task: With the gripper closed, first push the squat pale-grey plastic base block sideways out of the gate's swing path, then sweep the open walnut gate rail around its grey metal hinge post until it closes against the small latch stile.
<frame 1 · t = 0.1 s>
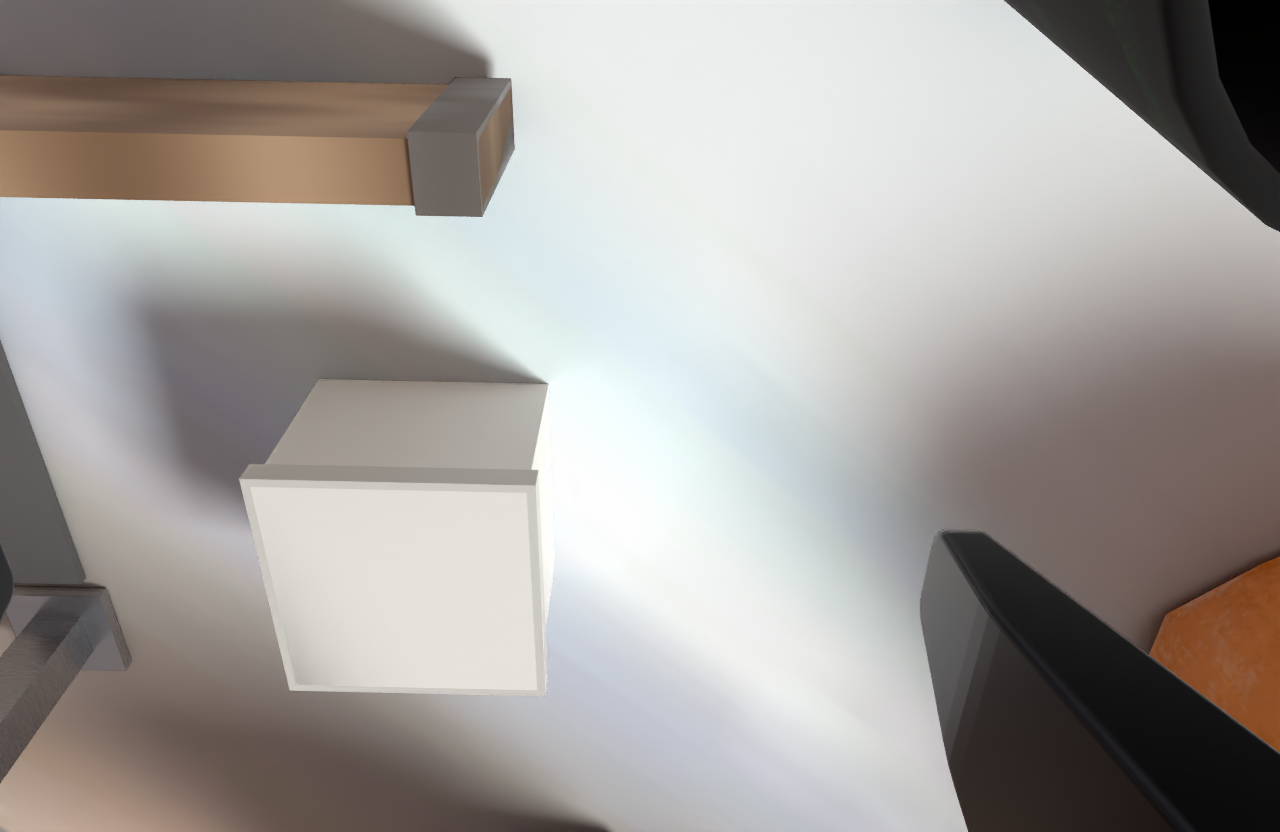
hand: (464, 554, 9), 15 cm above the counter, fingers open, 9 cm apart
latch stile: (70, 624, 29), on the counter
gate: (167, 134, 19), point 3 cm above the counter, hinge at 90.0°
base block: (444, 474, 26), on the counter
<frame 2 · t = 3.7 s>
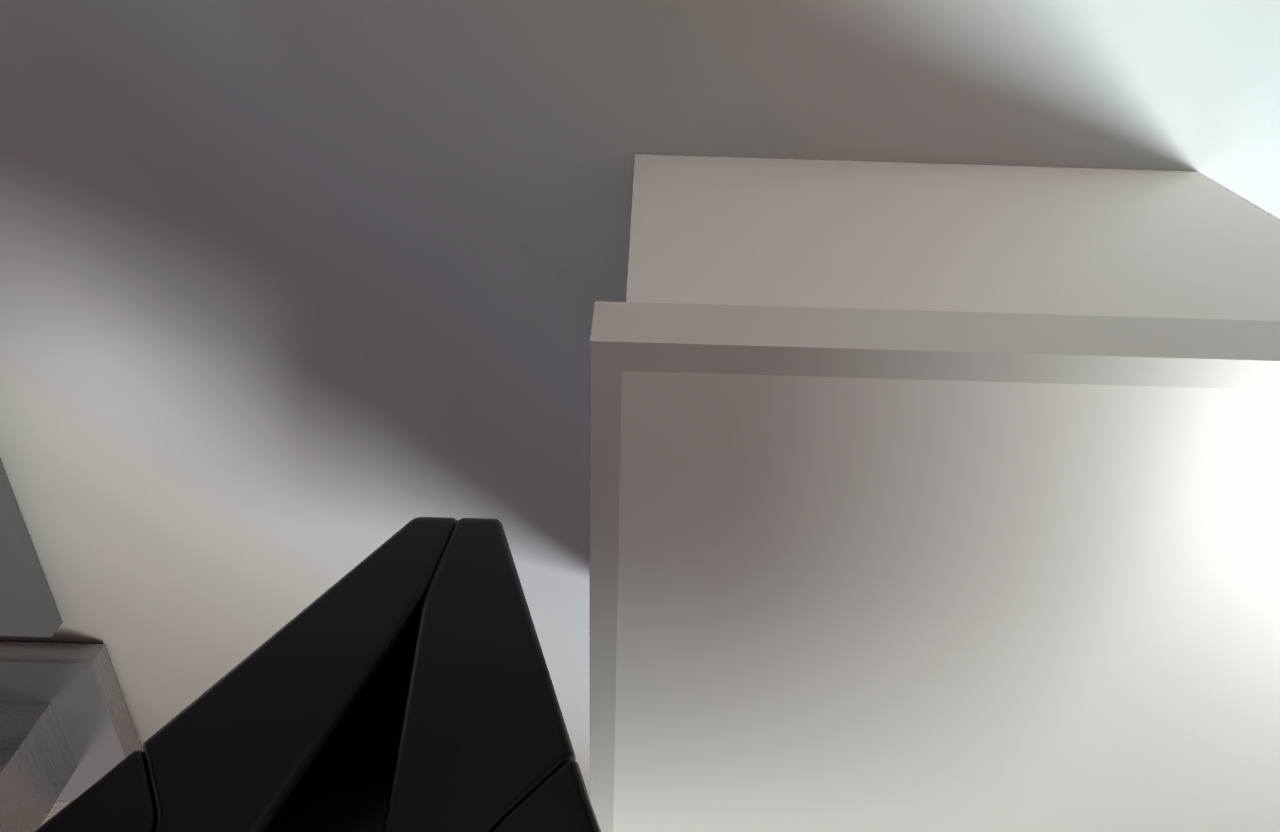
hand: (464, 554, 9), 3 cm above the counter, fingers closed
latch stile: (32, 713, 15), on the counter
base block: (872, 403, 12), on the counter, touching gripper
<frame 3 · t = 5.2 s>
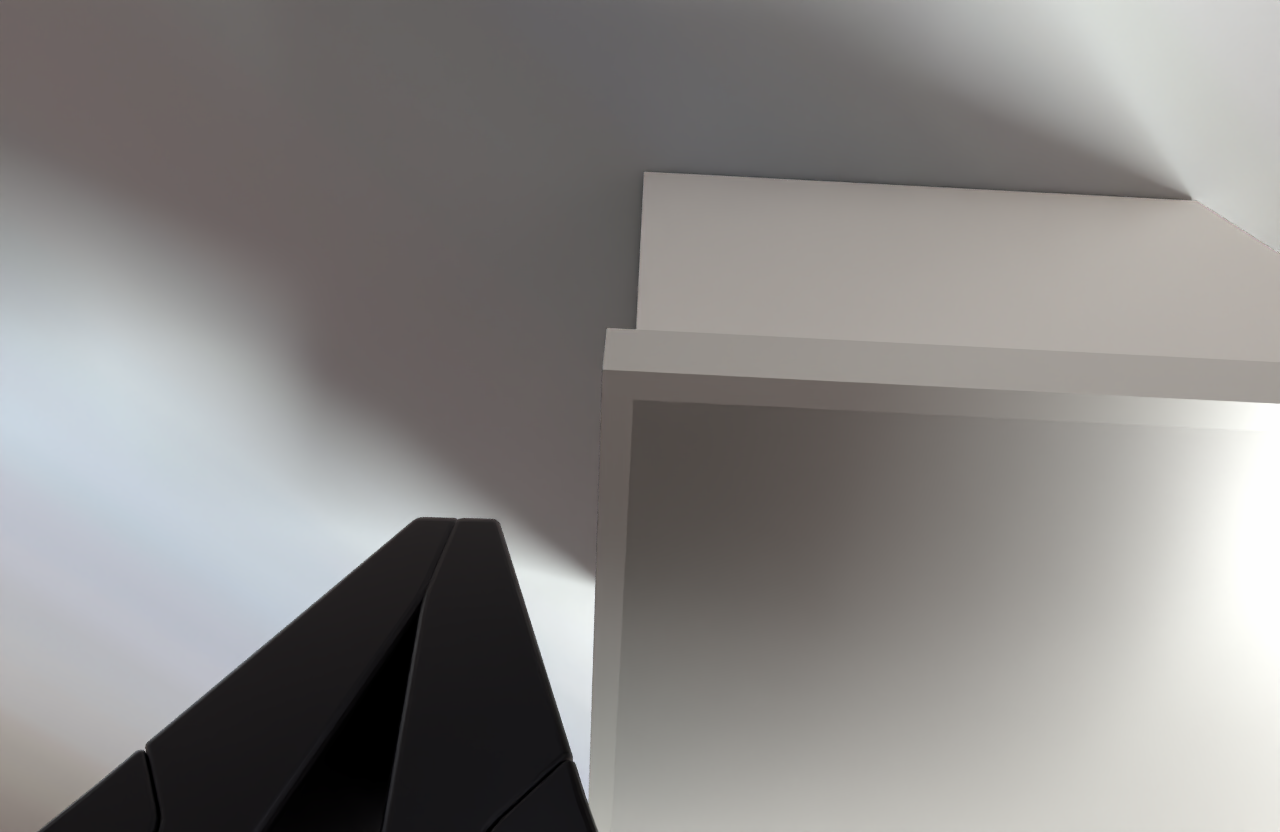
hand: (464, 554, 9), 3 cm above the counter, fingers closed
base block: (873, 424, 12), on the counter, touching gripper
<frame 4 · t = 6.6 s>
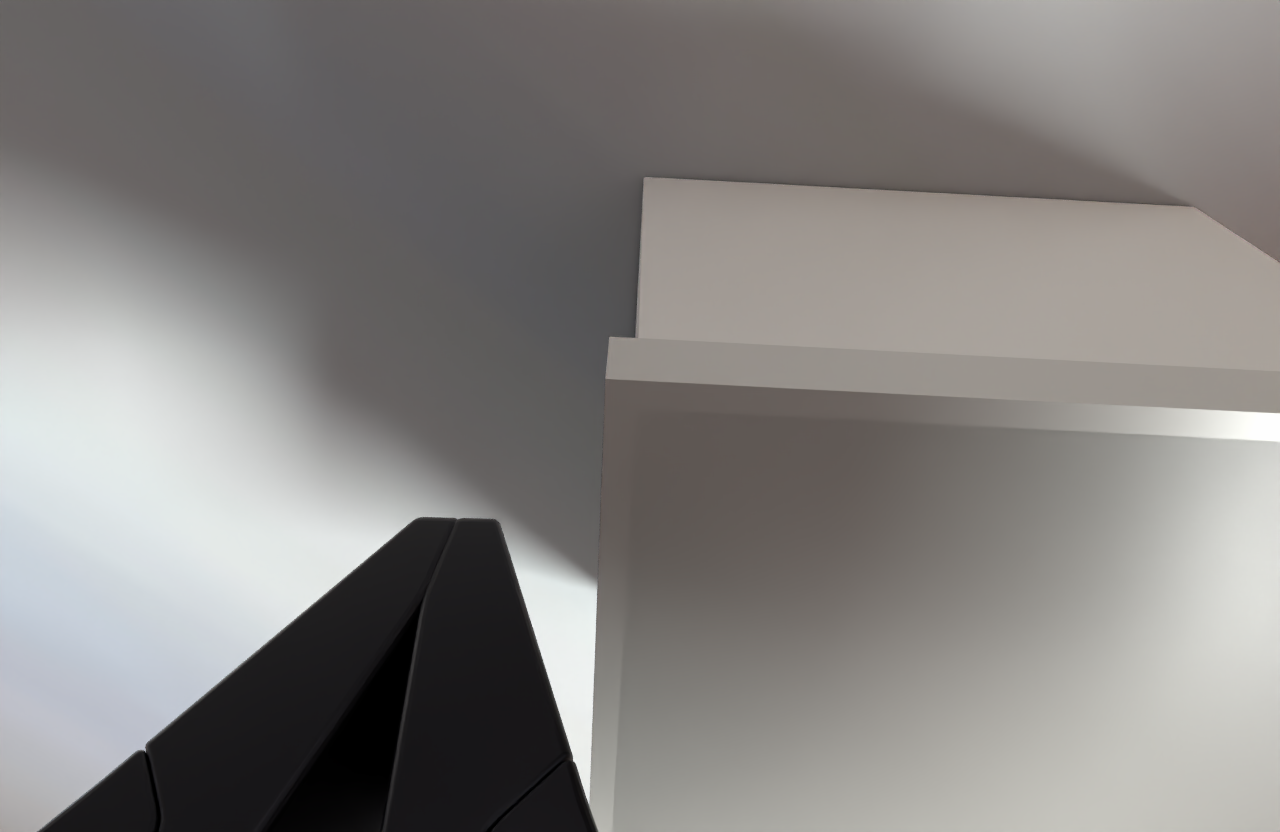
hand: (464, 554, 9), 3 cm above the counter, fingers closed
base block: (871, 428, 12), on the counter, touching gripper
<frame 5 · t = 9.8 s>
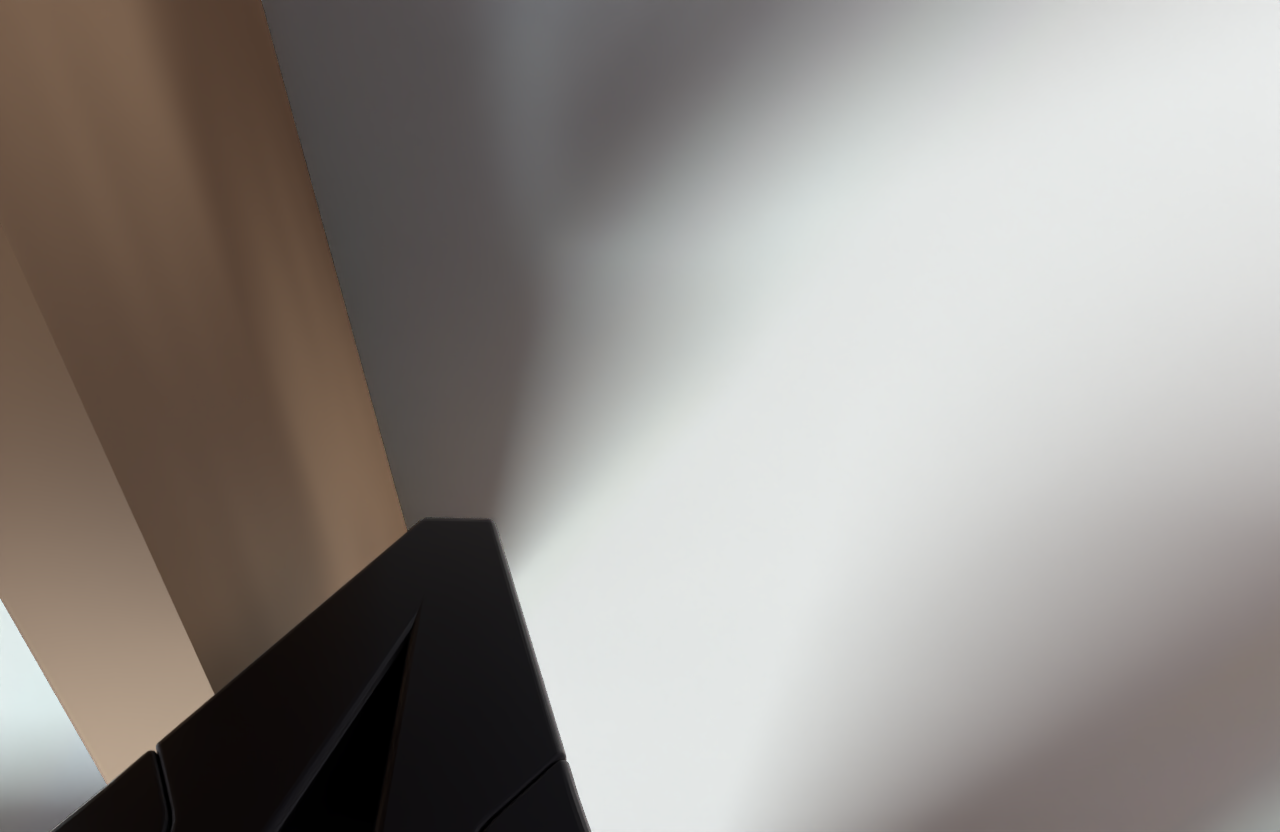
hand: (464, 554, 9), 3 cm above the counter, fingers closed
gate: (160, 296, 8), point 3 cm above the counter, hinge at 90.0°, touching gripper
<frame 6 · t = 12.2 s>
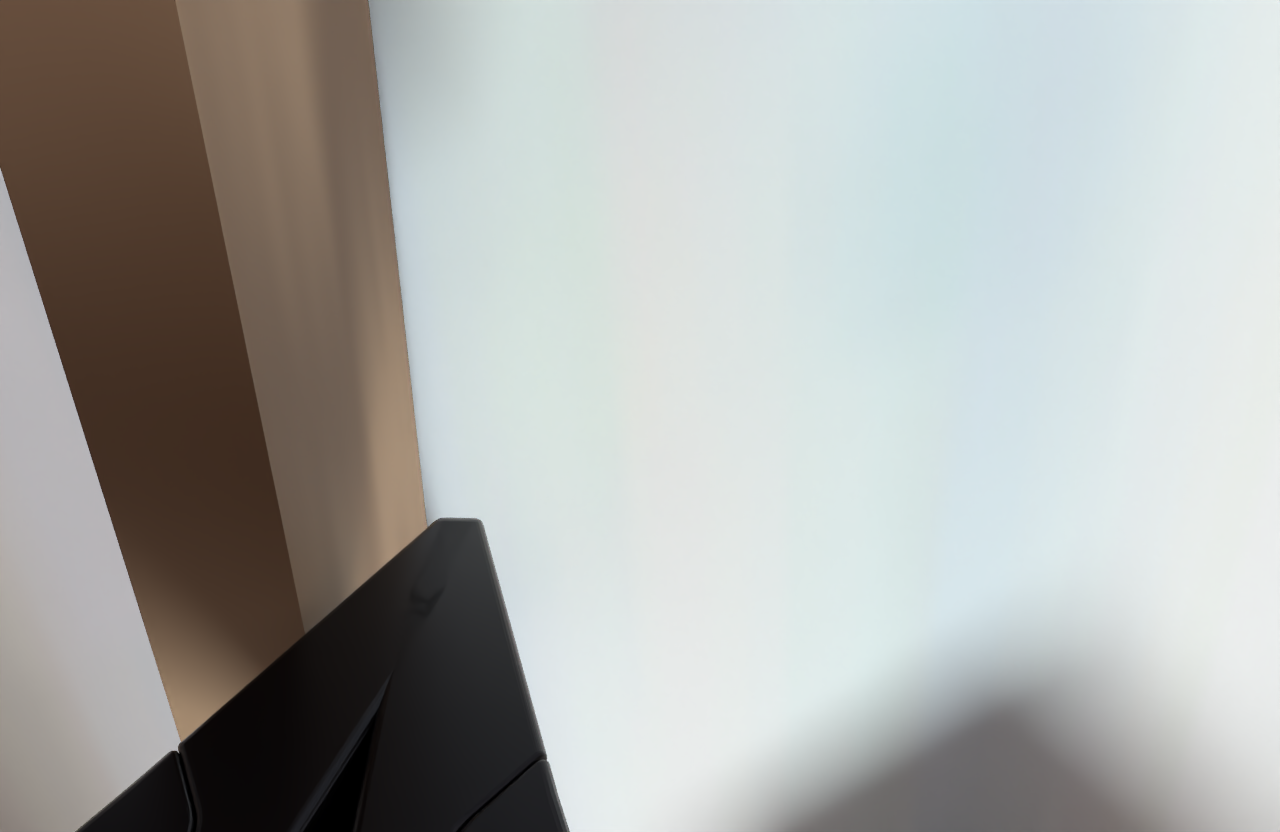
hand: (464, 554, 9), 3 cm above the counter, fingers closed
gate: (270, 292, 8), point 3 cm above the counter, hinge at 43.3°, touching gripper
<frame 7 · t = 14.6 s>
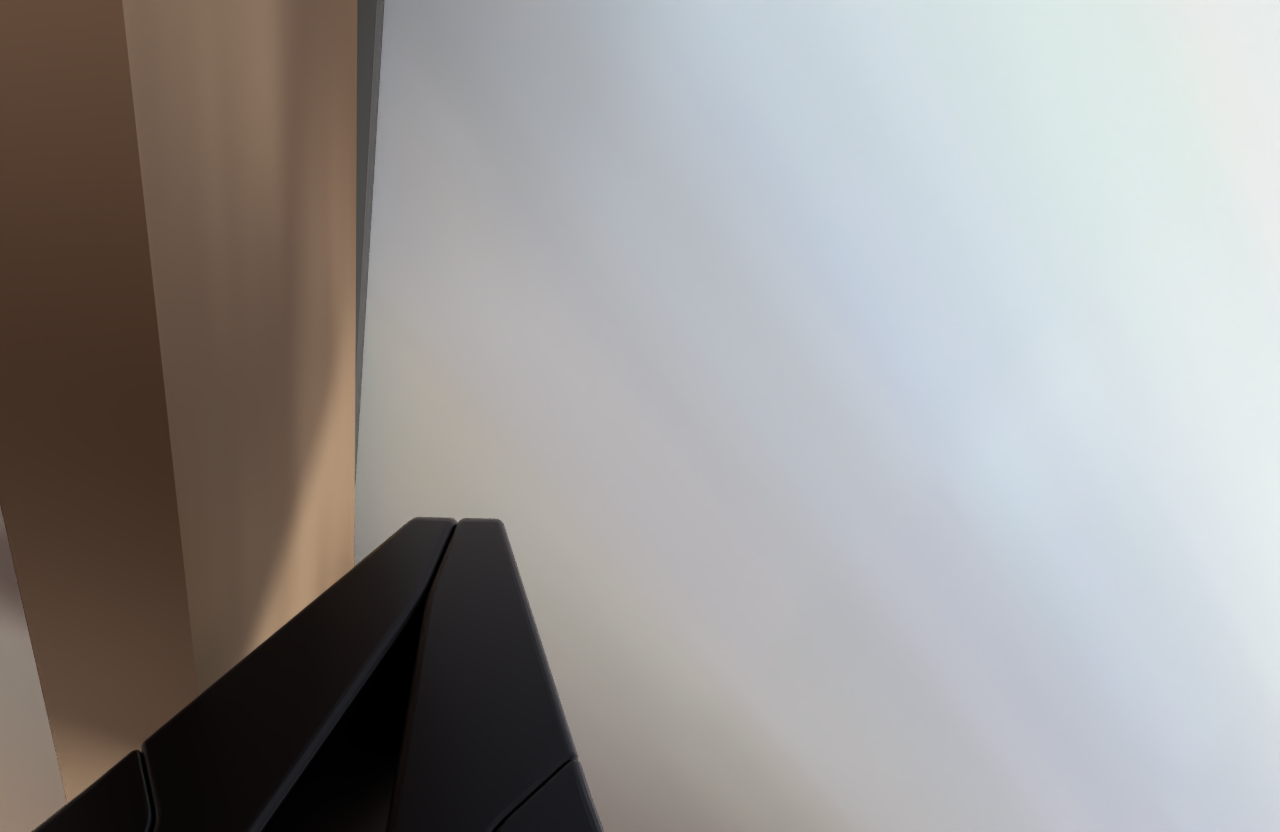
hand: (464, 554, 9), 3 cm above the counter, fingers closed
gate: (209, 260, 8), point 3 cm above the counter, hinge at 2.5°
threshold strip: (280, 139, 10), on the counter
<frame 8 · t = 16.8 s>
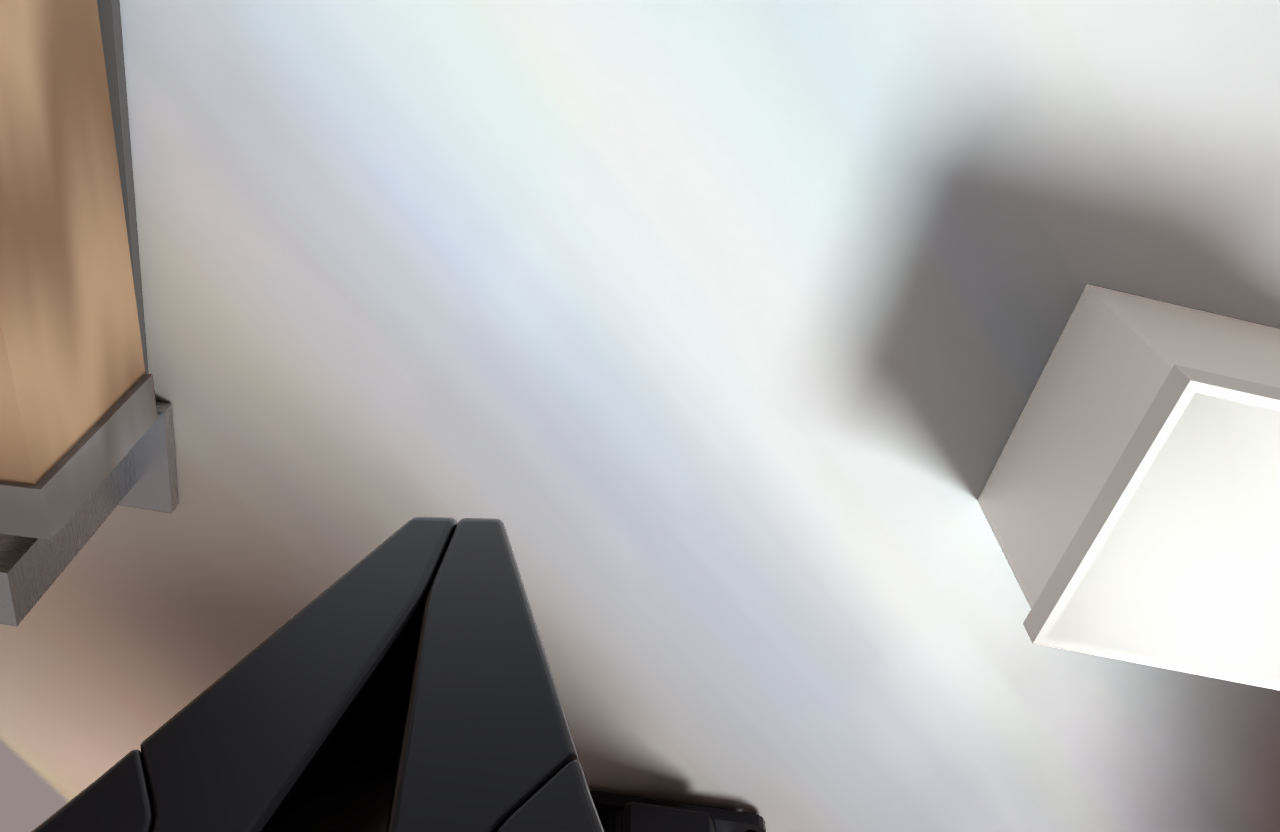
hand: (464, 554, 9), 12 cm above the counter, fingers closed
latch stile: (112, 445, 23), on the counter
gate: (18, 169, 17), point 3 cm above the counter, hinge at 2.5°
base block: (1143, 422, 23), on the counter
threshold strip: (78, 115, 19), on the counter
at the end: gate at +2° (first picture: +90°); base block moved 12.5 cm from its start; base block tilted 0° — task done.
